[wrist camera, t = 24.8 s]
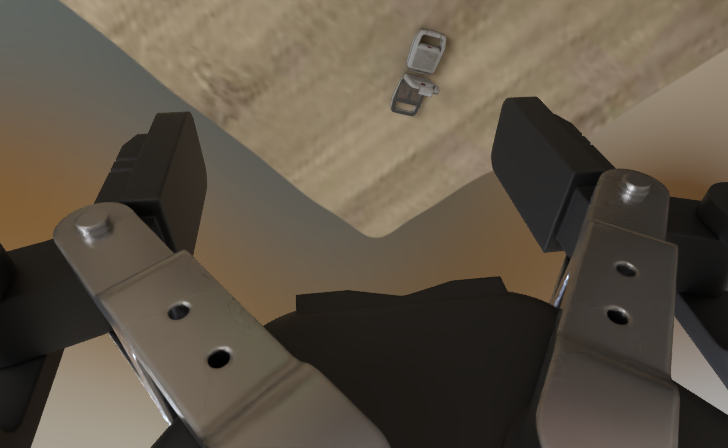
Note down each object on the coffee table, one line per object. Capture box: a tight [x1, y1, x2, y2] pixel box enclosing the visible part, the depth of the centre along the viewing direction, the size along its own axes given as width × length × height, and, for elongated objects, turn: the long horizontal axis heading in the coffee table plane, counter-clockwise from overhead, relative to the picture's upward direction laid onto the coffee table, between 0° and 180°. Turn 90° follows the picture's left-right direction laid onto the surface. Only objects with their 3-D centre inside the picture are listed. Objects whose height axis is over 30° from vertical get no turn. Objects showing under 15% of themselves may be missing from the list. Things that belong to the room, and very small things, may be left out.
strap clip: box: [391, 29, 446, 116], centre depth 43 cm, size 8×3×4 cm, turn 163°
